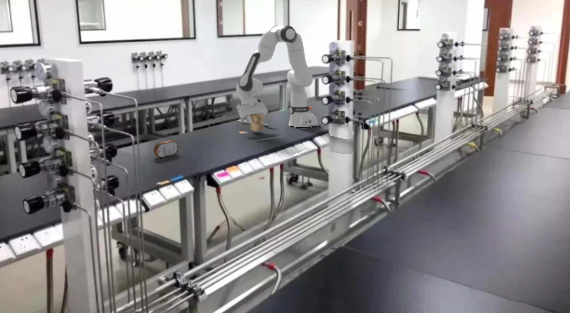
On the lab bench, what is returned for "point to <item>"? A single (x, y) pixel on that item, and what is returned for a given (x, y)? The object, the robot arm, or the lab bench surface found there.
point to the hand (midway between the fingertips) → (257, 121)
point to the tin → (165, 148)
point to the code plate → (243, 132)
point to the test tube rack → (249, 121)
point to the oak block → (257, 122)
